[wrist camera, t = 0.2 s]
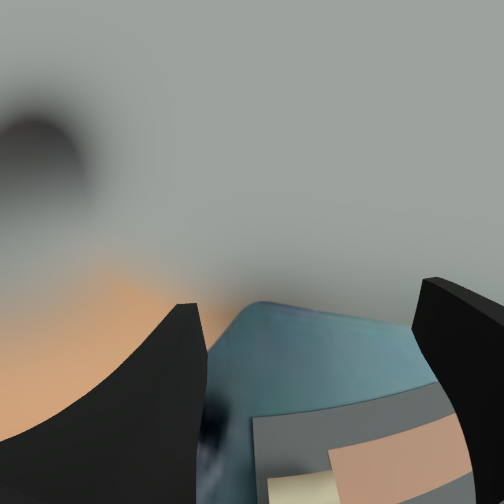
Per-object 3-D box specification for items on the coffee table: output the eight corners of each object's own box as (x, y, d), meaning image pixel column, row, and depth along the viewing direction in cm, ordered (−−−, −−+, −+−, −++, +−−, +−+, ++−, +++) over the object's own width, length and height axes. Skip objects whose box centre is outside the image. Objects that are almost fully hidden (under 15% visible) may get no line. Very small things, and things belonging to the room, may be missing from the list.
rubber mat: (516, 527, 8) (519, 525, 7) (265, 620, 7) (265, 620, 7) (439, 383, 28) (441, 380, 28) (252, 420, 28) (252, 417, 28)
